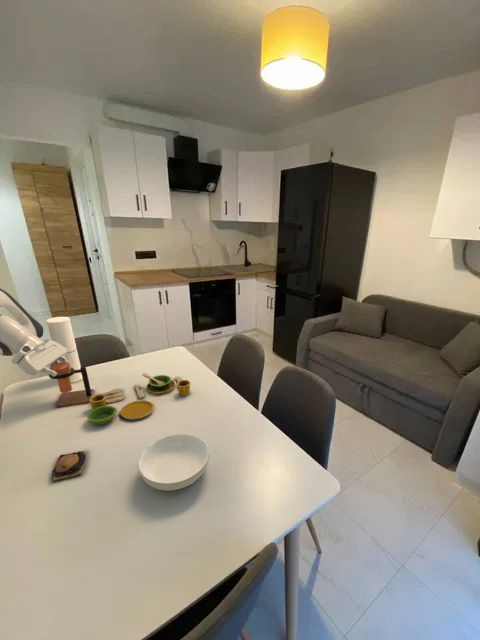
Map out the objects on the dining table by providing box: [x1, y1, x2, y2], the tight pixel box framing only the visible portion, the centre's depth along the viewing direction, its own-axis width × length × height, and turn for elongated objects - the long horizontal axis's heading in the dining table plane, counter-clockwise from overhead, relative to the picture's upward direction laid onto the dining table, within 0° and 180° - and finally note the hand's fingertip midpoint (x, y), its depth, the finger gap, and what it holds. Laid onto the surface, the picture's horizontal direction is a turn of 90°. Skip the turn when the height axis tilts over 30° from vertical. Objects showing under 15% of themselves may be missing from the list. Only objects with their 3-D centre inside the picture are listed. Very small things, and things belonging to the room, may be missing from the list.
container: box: [46, 316, 83, 384], centre depth 135 cm, size 9×9×30 cm
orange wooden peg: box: [49, 362, 73, 393], centre depth 120 cm, size 7×7×12 cm
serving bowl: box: [137, 433, 210, 492], centre depth 90 cm, size 21×21×7 cm
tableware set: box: [86, 372, 191, 426], centre depth 125 cm, size 41×28×6 cm
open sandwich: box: [52, 450, 87, 482], centre depth 91 cm, size 11×8×4 cm
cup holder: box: [48, 365, 94, 408], centre depth 122 cm, size 13×10×14 cm
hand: (62, 370), depth 119 cm, fingers closed on orange wooden peg, 7 cm apart
